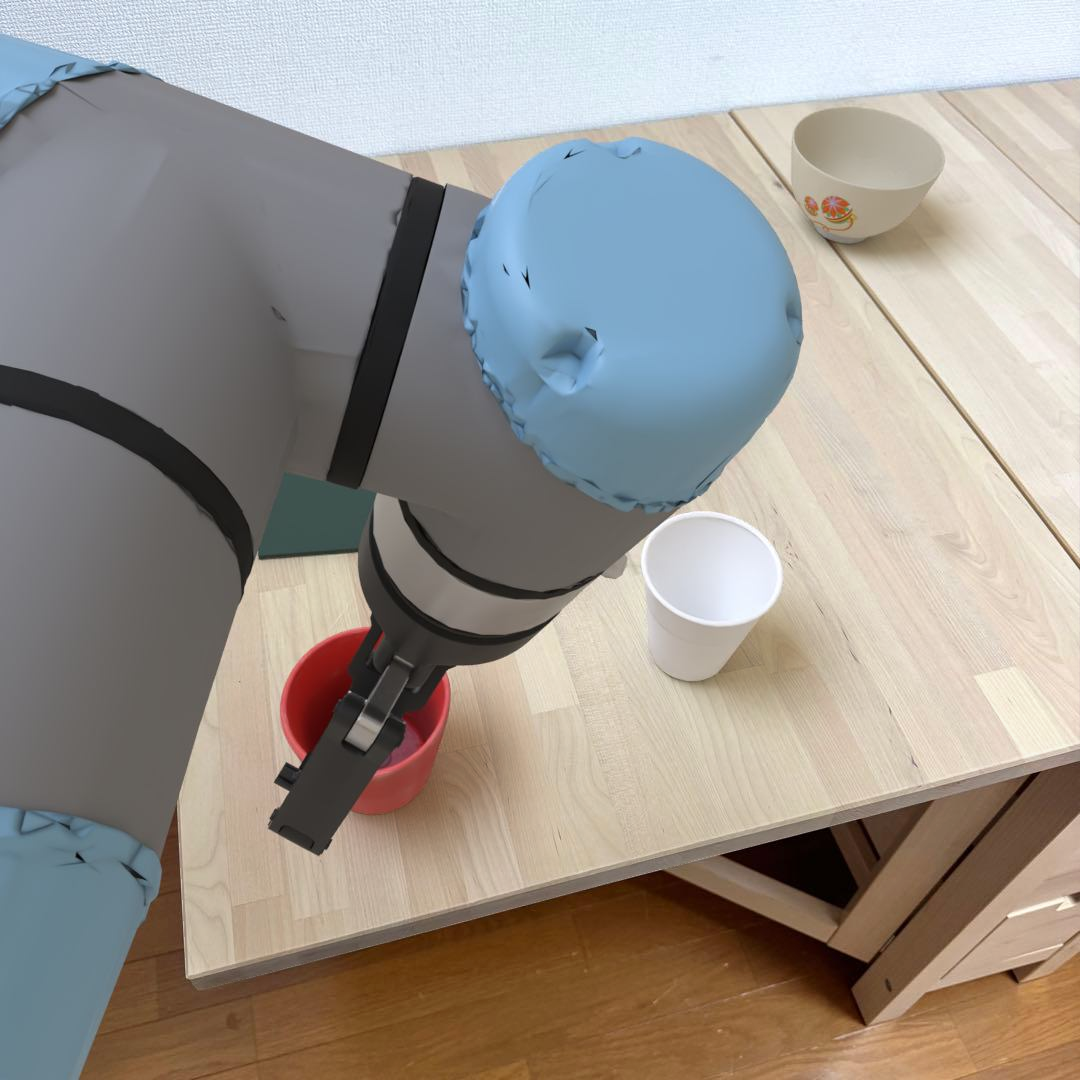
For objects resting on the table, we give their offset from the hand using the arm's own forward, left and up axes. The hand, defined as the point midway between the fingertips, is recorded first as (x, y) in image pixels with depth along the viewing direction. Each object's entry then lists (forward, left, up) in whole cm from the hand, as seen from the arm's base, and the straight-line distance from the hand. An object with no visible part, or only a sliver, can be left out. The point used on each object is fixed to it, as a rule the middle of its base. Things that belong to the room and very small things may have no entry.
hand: (382, 676), depth 53 cm
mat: (-1, +34, -20) cm, 39 cm away
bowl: (+52, +65, -20) cm, 85 cm away
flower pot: (-2, +5, -20) cm, 20 cm away
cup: (+22, +12, -20) cm, 32 cm away
